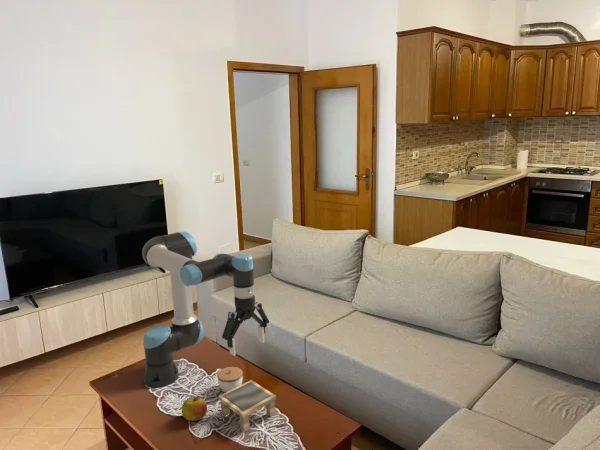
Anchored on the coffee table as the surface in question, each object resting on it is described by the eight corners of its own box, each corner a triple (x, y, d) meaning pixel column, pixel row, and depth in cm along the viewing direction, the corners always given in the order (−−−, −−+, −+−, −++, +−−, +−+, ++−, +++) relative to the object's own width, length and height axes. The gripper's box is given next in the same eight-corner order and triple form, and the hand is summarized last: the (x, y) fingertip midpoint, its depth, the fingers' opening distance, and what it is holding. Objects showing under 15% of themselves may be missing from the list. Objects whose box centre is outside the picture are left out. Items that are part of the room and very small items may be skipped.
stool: (219, 414, 180) (218, 395, 178) (252, 397, 191) (251, 379, 189) (244, 433, 169) (242, 413, 167) (277, 414, 180) (276, 395, 178)
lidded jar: (238, 397, 191) (237, 377, 189) (214, 395, 193) (213, 375, 191) (246, 383, 201) (245, 364, 199) (223, 381, 203) (222, 362, 201)
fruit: (206, 408, 184) (204, 390, 182) (209, 422, 176) (207, 403, 174) (181, 413, 181) (179, 395, 180) (183, 428, 173) (181, 409, 171)
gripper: (221, 308, 159) (225, 363, 163) (276, 289, 175) (278, 340, 180) (209, 302, 164) (214, 356, 169) (264, 284, 180) (266, 333, 185)
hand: (247, 348), depth 174 cm, fingers open, 13 cm apart
